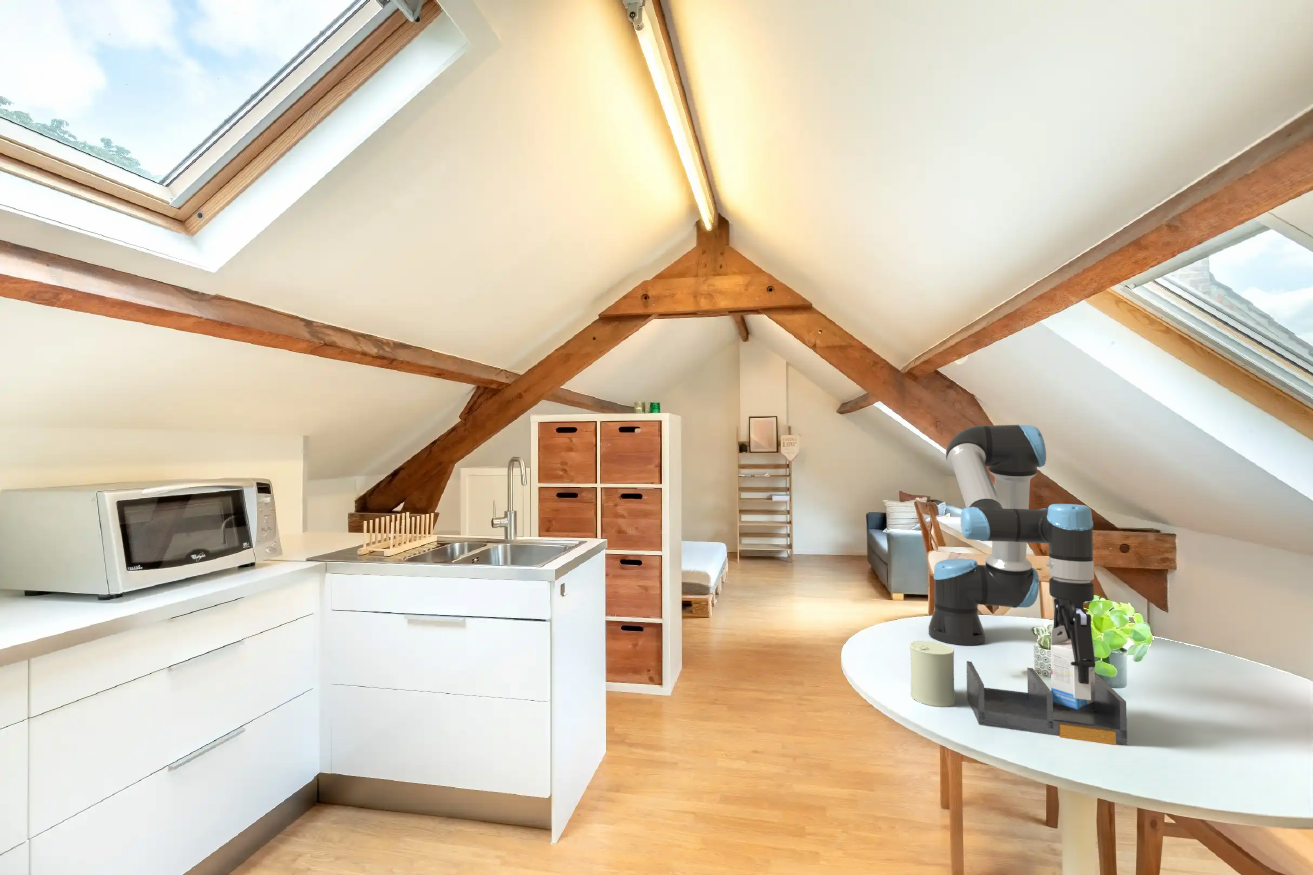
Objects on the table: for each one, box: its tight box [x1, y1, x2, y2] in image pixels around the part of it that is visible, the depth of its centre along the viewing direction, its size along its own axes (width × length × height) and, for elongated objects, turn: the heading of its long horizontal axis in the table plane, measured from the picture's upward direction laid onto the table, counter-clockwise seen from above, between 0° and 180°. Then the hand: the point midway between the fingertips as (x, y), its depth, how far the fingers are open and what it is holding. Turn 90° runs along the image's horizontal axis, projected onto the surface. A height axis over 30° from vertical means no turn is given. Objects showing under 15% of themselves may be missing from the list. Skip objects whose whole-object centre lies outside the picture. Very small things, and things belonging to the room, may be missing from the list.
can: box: [909, 640, 956, 708], centre depth 131 cm, size 9×9×12 cm
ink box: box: [1050, 626, 1096, 710], centre depth 119 cm, size 8×5×15 cm, turn 123°
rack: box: [966, 660, 1128, 746], centre depth 120 cm, size 15×25×8 cm, turn 71°
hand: (1073, 688), depth 119 cm, fingers closed on ink box, 9 cm apart
